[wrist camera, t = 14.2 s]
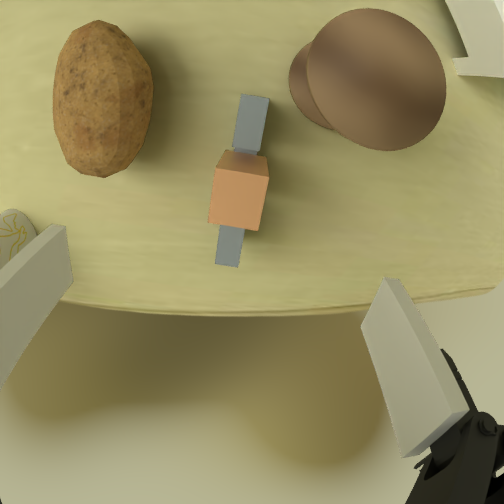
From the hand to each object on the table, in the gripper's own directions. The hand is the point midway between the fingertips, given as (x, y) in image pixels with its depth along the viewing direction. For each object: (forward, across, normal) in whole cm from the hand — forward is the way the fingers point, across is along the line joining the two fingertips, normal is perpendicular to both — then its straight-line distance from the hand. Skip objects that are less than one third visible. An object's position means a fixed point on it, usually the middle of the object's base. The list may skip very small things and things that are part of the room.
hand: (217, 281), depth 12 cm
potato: (+19, -13, +6) cm, 24 cm away
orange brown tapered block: (+17, 0, 0) cm, 17 cm away
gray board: (+19, 0, 0) cm, 19 cm away
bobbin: (+19, +7, +10) cm, 22 cm away
